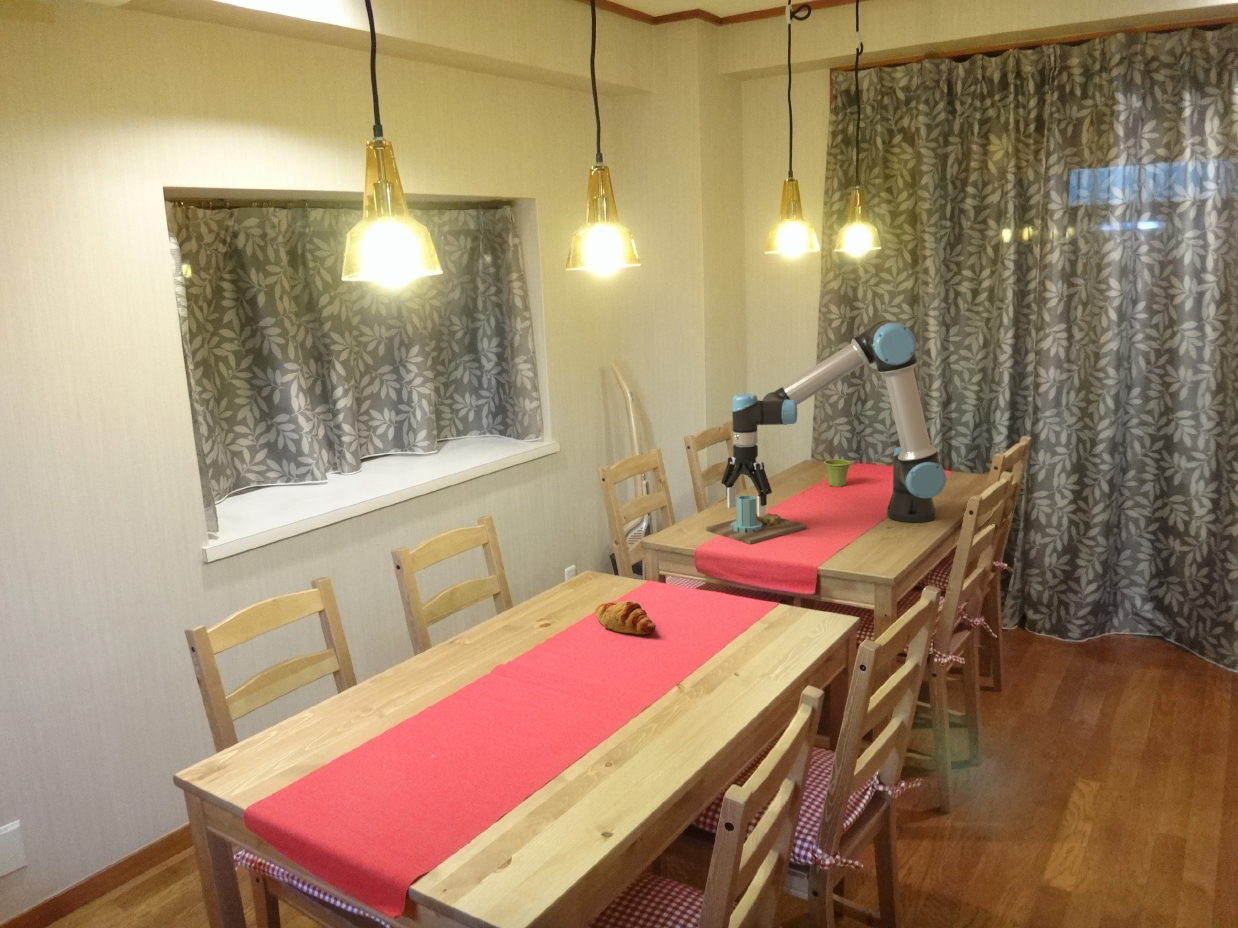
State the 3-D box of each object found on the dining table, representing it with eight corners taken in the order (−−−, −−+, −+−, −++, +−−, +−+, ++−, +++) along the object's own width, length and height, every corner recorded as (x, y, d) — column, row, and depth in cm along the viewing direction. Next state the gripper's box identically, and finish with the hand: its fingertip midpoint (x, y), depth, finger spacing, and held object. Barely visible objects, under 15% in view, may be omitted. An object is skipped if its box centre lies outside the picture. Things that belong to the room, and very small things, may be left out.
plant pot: (848, 481, 366) (848, 459, 364) (851, 487, 357) (852, 464, 355) (823, 482, 367) (823, 459, 365) (825, 488, 358) (825, 465, 356)
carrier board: (806, 528, 309) (806, 509, 308) (749, 544, 296) (749, 524, 294) (761, 516, 325) (761, 498, 324) (706, 530, 311) (705, 511, 310)
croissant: (588, 631, 243) (575, 608, 239) (614, 604, 248) (601, 581, 244) (647, 653, 227) (633, 629, 224) (673, 623, 232) (660, 599, 228)
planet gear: (768, 528, 307) (768, 497, 304) (745, 534, 301) (745, 503, 299) (747, 522, 314) (747, 492, 312) (724, 528, 309) (724, 497, 307)
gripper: (709, 440, 310) (710, 506, 314) (764, 452, 290) (765, 521, 294) (727, 437, 314) (728, 501, 319) (783, 448, 294) (783, 516, 299)
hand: (746, 511), depth 307 cm, fingers open, 13 cm apart
